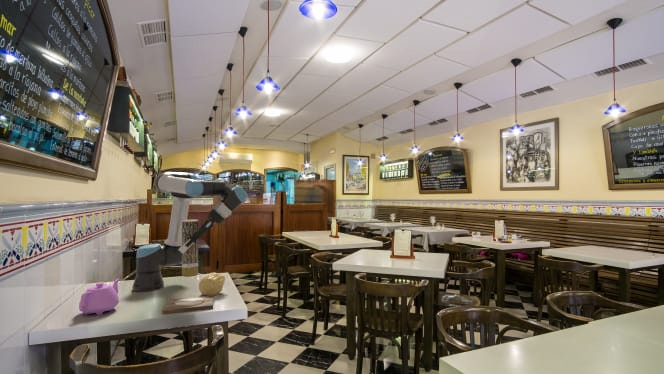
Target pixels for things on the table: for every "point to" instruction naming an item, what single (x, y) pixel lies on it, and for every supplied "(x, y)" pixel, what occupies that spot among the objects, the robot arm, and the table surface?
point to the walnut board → (188, 304)
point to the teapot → (99, 298)
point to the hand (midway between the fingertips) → (181, 250)
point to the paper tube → (189, 249)
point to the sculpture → (211, 284)
